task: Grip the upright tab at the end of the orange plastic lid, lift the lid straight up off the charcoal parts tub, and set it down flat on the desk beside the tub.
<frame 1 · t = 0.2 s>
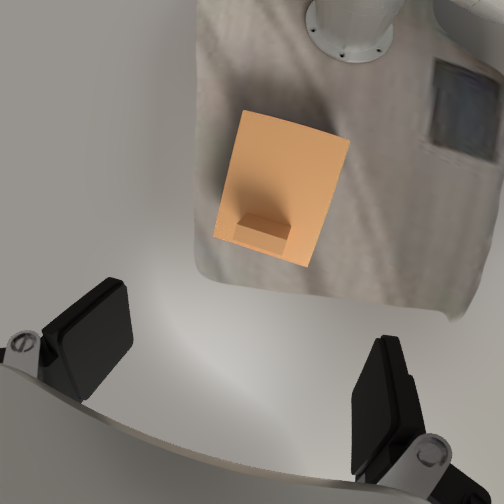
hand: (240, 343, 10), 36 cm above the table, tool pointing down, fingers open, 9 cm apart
lid: (279, 187, 39), point 4 cm above the table, touching tub
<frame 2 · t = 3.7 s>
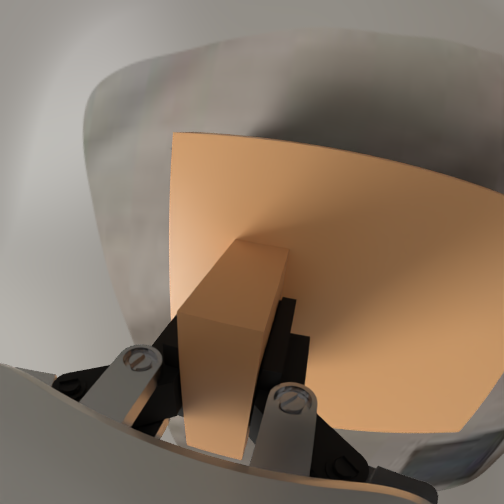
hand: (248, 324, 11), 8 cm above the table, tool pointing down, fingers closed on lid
lid: (366, 305, 13), point 5 cm above the table, touching gripper, tub
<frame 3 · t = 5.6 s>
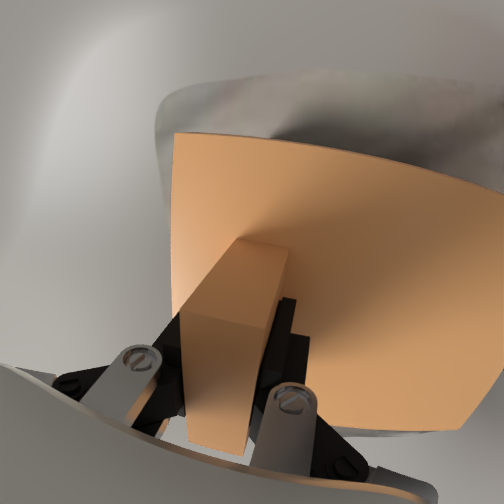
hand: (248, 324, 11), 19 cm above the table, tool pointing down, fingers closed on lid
lid: (366, 303, 14), point 16 cm above the table, touching gripper
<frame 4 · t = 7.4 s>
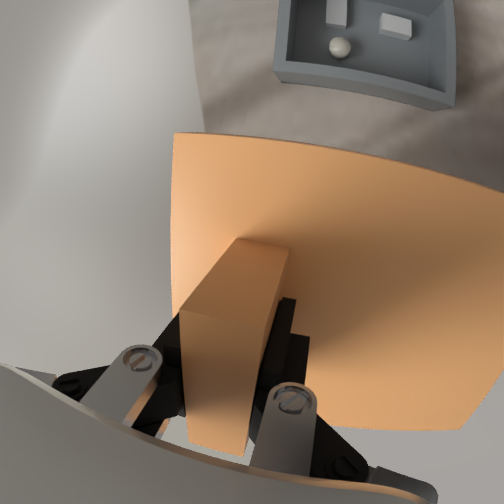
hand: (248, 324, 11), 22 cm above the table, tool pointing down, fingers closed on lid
tub: (363, 41, 24), on the table
lid: (367, 303, 14), point 19 cm above the table, touching gripper
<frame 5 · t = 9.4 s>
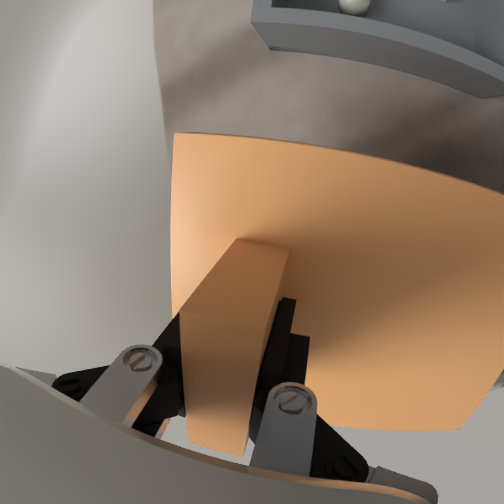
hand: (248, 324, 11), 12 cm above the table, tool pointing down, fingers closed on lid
lid: (366, 303, 14), point 9 cm above the table, touching gripper
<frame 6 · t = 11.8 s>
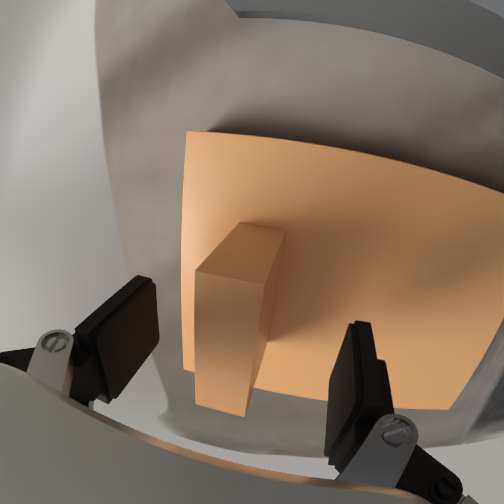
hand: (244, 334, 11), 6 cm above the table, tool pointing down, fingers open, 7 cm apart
lid: (356, 284, 15), on the table
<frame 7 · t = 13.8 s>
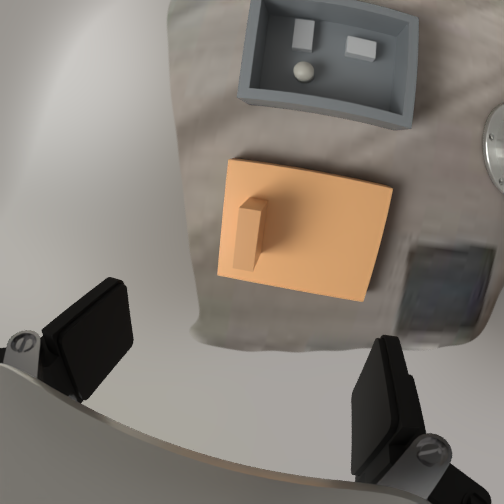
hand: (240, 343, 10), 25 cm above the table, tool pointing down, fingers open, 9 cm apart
tub: (329, 63, 27), on the table
lid: (302, 228, 34), on the table
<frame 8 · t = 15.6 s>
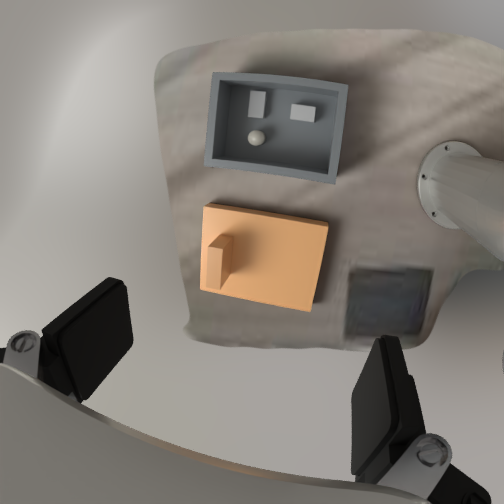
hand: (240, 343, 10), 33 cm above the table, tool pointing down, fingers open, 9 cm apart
tub: (280, 125, 38), on the table
lid: (261, 255, 46), on the table
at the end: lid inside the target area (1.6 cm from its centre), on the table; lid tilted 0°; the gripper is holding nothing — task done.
